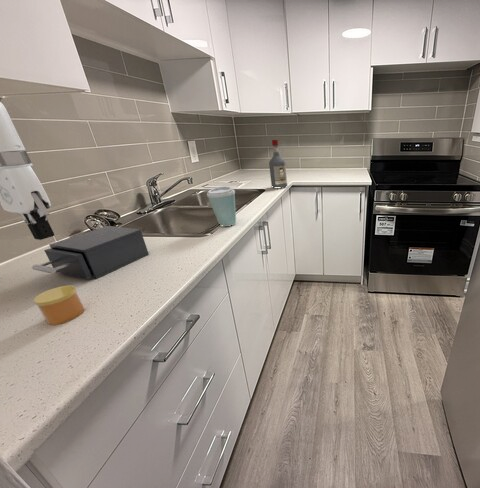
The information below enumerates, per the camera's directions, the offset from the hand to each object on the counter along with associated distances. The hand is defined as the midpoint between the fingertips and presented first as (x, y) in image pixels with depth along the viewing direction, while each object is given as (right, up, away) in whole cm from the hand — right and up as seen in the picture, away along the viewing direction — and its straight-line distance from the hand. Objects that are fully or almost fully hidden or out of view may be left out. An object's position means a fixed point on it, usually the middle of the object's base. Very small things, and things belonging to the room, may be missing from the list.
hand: (45, 237), depth 65 cm
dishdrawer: (+4, -7, +15) cm, 17 cm away
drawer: (+2, -8, +10) cm, 13 cm away
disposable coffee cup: (+29, +6, +44) cm, 53 cm away
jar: (+14, -17, -9) cm, 24 cm away
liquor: (+39, +37, +113) cm, 125 cm away
